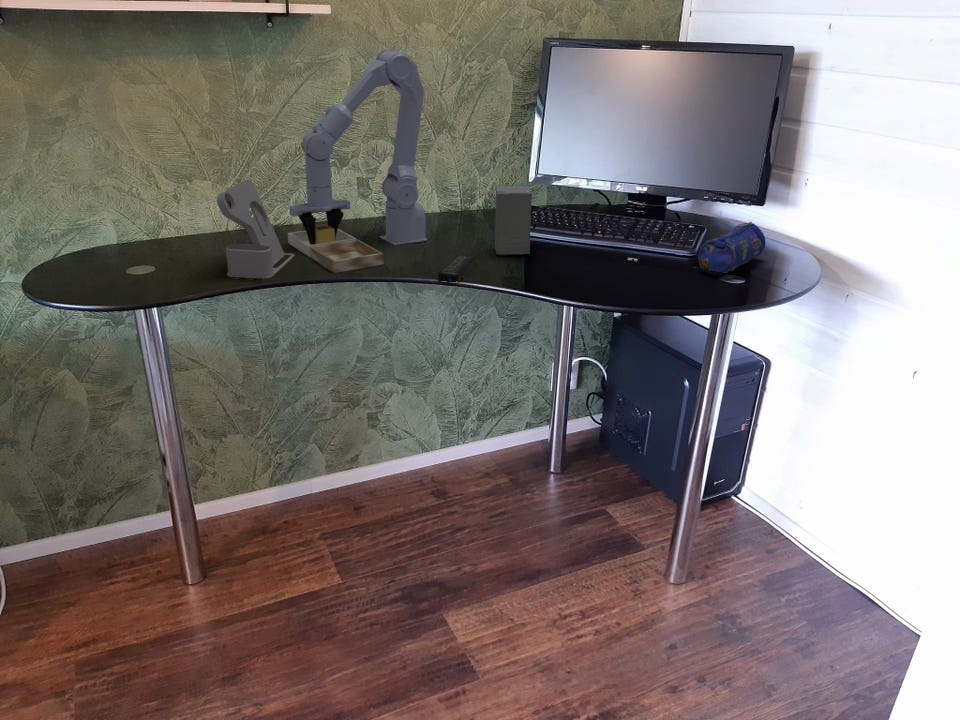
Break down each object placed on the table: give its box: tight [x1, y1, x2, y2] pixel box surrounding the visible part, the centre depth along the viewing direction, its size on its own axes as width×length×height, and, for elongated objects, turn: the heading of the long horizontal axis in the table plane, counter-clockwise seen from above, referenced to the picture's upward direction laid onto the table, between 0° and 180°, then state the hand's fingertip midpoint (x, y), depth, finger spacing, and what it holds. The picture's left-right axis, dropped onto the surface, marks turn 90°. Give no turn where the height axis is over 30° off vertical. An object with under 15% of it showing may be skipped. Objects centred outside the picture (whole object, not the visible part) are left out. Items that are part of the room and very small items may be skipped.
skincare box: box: [494, 185, 533, 255], centre depth 183 cm, size 8×7×16 cm
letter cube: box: [310, 223, 335, 245], centre depth 184 cm, size 4×4×5 cm
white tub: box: [287, 228, 358, 258], centre depth 184 cm, size 12×12×3 cm
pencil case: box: [697, 221, 766, 274], centre depth 181 cm, size 22×9×10 cm, turn 142°
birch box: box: [310, 239, 385, 276], centre depth 175 cm, size 12×12×3 cm
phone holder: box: [216, 179, 295, 279], centre depth 168 cm, size 17×10×18 cm, turn 174°
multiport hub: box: [437, 254, 478, 284], centre depth 172 cm, size 4×14×2 cm, turn 163°
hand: (322, 242), depth 184 cm, fingers closed on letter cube, 4 cm apart
